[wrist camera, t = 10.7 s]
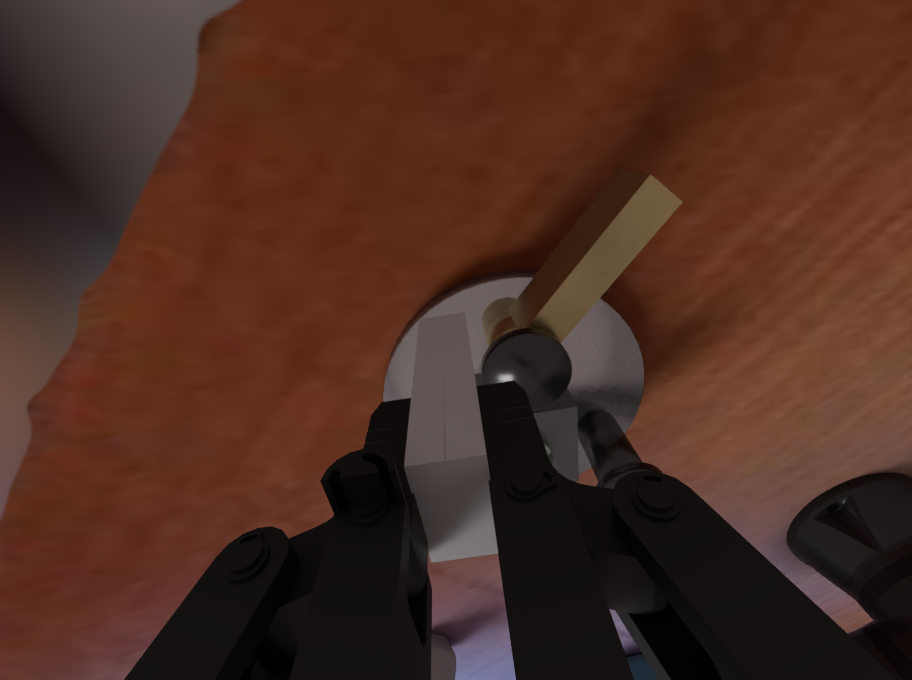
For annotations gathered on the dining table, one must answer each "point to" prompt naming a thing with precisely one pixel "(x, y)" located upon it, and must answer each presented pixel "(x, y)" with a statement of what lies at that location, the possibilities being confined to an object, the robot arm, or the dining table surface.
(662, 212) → the brass bar with knob
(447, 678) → the salt shaker
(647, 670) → the casserole dish
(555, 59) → the dining table surface
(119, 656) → the dining table surface
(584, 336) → the levelling base
